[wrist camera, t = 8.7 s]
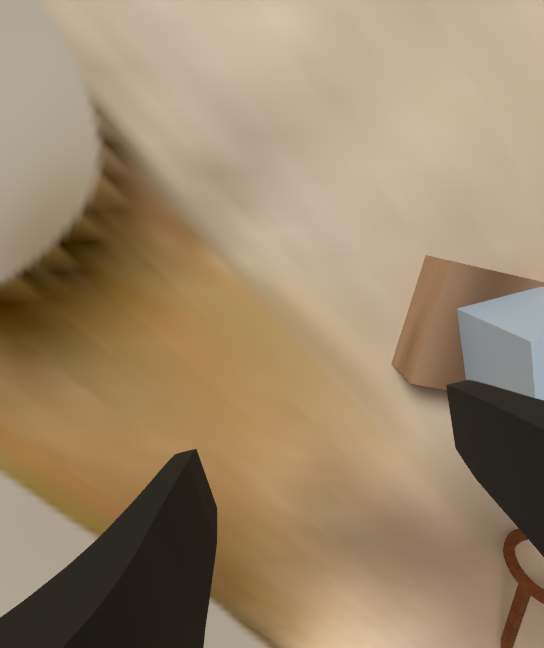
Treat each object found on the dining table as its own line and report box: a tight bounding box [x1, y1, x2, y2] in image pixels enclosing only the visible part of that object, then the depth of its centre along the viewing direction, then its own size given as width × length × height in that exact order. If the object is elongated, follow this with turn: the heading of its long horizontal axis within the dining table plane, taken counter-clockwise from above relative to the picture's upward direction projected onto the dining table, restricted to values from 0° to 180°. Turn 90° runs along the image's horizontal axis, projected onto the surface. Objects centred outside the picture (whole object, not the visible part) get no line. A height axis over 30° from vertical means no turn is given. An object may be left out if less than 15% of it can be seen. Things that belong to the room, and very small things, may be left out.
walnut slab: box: [392, 255, 544, 391], centre depth 20 cm, size 6×6×3 cm
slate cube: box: [457, 286, 544, 400], centre depth 17 cm, size 4×4×5 cm
